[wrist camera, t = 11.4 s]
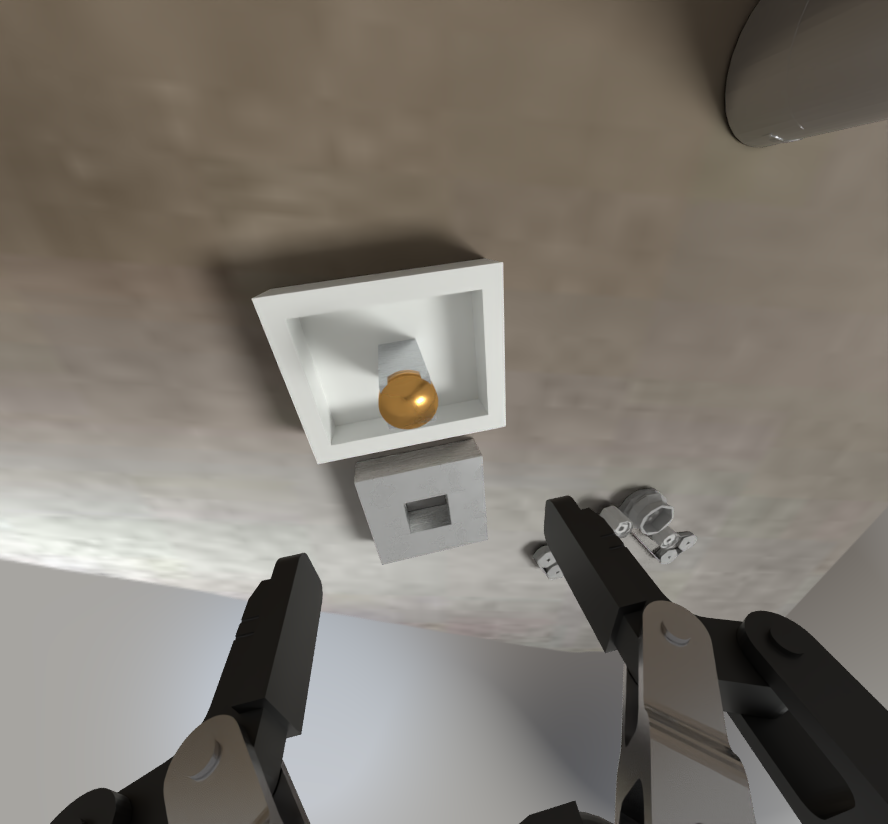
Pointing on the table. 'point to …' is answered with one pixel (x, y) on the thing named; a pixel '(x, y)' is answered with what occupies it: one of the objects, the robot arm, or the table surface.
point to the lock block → (419, 478)
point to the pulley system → (637, 512)
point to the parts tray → (385, 321)
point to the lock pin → (405, 386)
